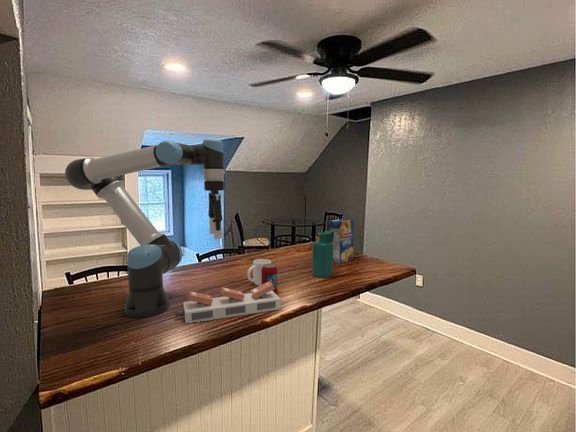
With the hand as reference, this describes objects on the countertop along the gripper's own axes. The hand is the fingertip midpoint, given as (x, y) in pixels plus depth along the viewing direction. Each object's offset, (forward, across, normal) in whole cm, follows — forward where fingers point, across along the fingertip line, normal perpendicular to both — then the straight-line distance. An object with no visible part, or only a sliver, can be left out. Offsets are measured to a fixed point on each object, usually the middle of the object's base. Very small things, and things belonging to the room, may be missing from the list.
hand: (215, 236), depth 129 cm
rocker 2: (+19, -14, -4) cm, 24 cm away
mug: (+26, +12, -21) cm, 35 cm away
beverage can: (+26, -1, -22) cm, 34 cm away
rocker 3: (+19, -14, -15) cm, 28 cm away
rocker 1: (+19, -14, +8) cm, 25 cm away
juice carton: (+26, +33, -78) cm, 89 cm away
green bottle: (+26, +13, -55) cm, 62 cm away
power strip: (+26, -14, -2) cm, 30 cm away
